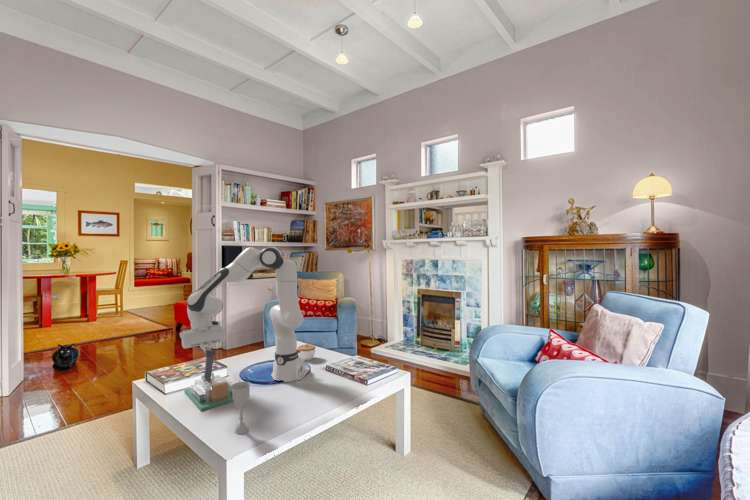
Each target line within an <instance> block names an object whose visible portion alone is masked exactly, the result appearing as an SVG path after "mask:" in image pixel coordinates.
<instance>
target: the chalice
mask: <svg viewBox="0 0 750 500" xmlns="http://www.w3.org/2000/svg"><path fill="white" fill-rule="evenodd" d="M232 384H233V385H232V386H231V388H232V389H233V403H234V405H235V407H236V409H238V410H239V413H238V414H239V424H237V425H236V428H235V430H234V433H235V434H236V435H242V434H246V433H247V432H249V427H248V425H247V424H246V423H245V422H244V418H245V417H244V409H245V408H246V406H247V404H248V401H249V399H250V396H251V395H250V392H251V391H250V388H251V385H252V382H250V381H239V382H235V383H232Z"/></svg>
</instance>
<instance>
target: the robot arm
mask: <svg viewBox="0 0 750 500" xmlns="http://www.w3.org/2000/svg"><path fill="white" fill-rule="evenodd" d="M260 265H262V266H263V267H265V268H267V269H271V270H275V271H274V272H275V296H276V298H277V301H278V302H277V303H278V304H274V305H273V306H272V307H271V308H270V310H269V318H270V320H271V322H272V328H273V332H274V337H275V338H274V339H275V340H274V341H275V352H274V360H273V364H272V366H273V367H272V373H270V377H272V380H273V379H274V380H283V381H284V382H283V383H291V382H295V381H301V380H303V379H304V378H305V376H306V375H308V373H309V371H310V368H309V367H308V366H306V361H304V360H303V359H302V358H300V357H299V354H298V353H300V352H301V350H300V349H298V347H297V339H298V338H297V335H296V333H295V330H294V329H298V328H300V327H301V326H302V325H303V323H304V314H303V313H302V311H301V308H300V304H299V303H300V302H299V299H298V270H297V265H296V262H295V261H293V260H292V259H285V258H284V257H283V253H282V251H281V250H280V249H279V248H277V247H275V246H267V247H265V248H263V249H261V250H258V249H257V248H255V247H251V246H249V247H246V248H245V249H244V250H242V251H241V252H240V253H239V254H238V255H237V256H236V257H235V259H233V261H232V262H231V263H229V264H228V265H227V266H225V267H223V268H220V269H219V270H217V271H216V272H215V273H214V274H213V275H211V276H210V278H208V279H207V280H206V281H205V282H204V283H203V284H202V285H200V287H199V288H197V289H196V290H194V291H192V292H191V293H190V295H188V297H187V299H186V307H187V308H186V313H187V317H188V320H189V321H190V322H189V323H190V329H186V330H185V329H184V330H182V331H181V332H179V338H180V339H181V346H182V348H183V349H190V348H195V347H200V349H201V350H203V352H204V354H205V351H208V350H212V348H211V347H212V344H217V343H222V342H225V340H226V339H227V333H226V331H225V329H224V327H223V326H222V325H221V321H218V320H210V319H211V318H213V317H215V316H217V315H218V314H220V313H221V311H222V310H223V307H224V306H223V301H222V299H221V298H219V297H217V296H214V295H211V294H212V293H214V291H215V290H216V289H217V288H219V286H221V285H223V284H225V283H239V282H240V283H241V282H244V281H245V280H247V279H248V278H249V277H250V276H251V274H253V272H254V271H255V269H257V267H258V266H260ZM206 346H207V347H206ZM274 380H273V381H274Z"/></svg>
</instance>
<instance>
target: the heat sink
mask: <svg viewBox="0 0 750 500" xmlns="http://www.w3.org/2000/svg"><path fill="white" fill-rule="evenodd" d="M200 377H201V378H200V379H197V380H194V384H191V385H190V388H191V392H192V393H193V394H194V396H195V397H196V398H197V399H198V400H199V401H203V400H204V401H205V402H208V401H211V394H210V385H214V384H218V383H222V382H225V381H226V382H228V395H230V392H233V389H232V388H231V386H232V385H233V384H234V383H232V382H231V381H229V380H228V379H227V378H225V377H224V376H222V377H221V376H220V375H219V374H217V375H215V373H214V372H213V371H212V374H211V378H207V379H204V374H201V375H200Z"/></svg>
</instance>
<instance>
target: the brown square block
mask: <svg viewBox="0 0 750 500" xmlns="http://www.w3.org/2000/svg"><path fill="white" fill-rule="evenodd" d="M210 394H211V402H212V403H213V402H216V401H220V400H223V399H227V398H228V382H226V381H225V382H222V383H218V384H214V385H210Z"/></svg>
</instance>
